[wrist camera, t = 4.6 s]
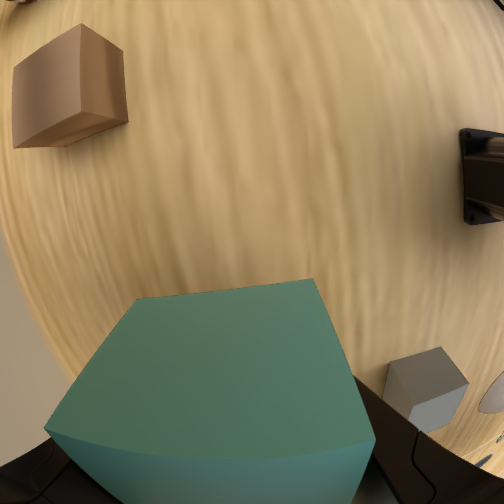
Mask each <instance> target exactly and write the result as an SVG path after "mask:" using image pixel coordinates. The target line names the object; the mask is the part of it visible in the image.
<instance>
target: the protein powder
mask: <svg viewBox="0 0 504 504" xmlns="http://www.w3.org/2000/svg"><path fill="white" fill-rule="evenodd" d="M494 2H495V3H496V4H497V5H498V6H499V7H500V8H501V9H502V10H503V11H504V0H494Z"/></svg>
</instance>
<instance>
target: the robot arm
mask: <svg viewBox="0 0 504 504" xmlns="http://www.w3.org/2000/svg"><path fill="white" fill-rule="evenodd" d="M466 133H467V135H468V138H467V136H466ZM460 137H461V146H462V157H463V172H464V221H465V223H466V224H468V225H478V224H485V223H492V222H499V221H504V134H502V133H497V132H491V131H485V130H478V129H471V128H464V129H462V130H461V132H460ZM470 216H471V219H470ZM352 375H353V374H352ZM353 377H354V380H355V382H356V385H357V388H358V390H359V393H360V396H361V399H362V401H363V404H364V407H365V409H366V412H367V415H368V418H369V421H370V423H371V426H372V429H373V432H374V435H375V438H376V441H375V444H374V447H373V450H372V453H371V456H370V458H369V461H368V464H367V466H366V469H365V472H364V474H363V477H362V479H361V481H360V484H359V486H358V488H357V491H356V493H355V495H354V497H353V500H352V502H351V504H504V479H503V478H500V477H497V476H495V475H493V474H491V473H489V472H487V471H485V470H483V469H481V468H479V467H477V466H475V465H473V464H471V463H469V462H468V461H466V460H464V459H462V458H460V457H459V456H457V455H455V454H454V453H452V452H450V451H449V450H447V449H446V448H444V447H443V446H441V445H440V444H438V443H437V442H436V441H434V440H433V439H432V438H430V437H429V436H428V435H426V434H425V433H424V432H423V431H421V430H420V431H419V428H417V427H416V426H415V425H414V424H412V423H411V422H410V421H409V420H407V419H406V418H405V417H404V416H402V415H401V414H400V413H399V412H397V411H396V410H395V409H394V408H393V407H391V406H390V405H389V404H388V403H386V402H385V401H384V400H383V399H382V398H380V397H379V396H378V395H377V394H376V393H374V392H373V391H372V390H371V389H369V388H368V387H367V386H366V385H365V384H363V383H362V382H361V381H360V380H359V379H358V378H356V377H355V376H354V375H353ZM0 504H124V503H122V502H121V501H120V500H118V499H117V498H116V497H114V496H113V495H112V494H111V493H109V492H108V491H107V490H106V489H104V488H103V487H102V486H101V485H100V484H99V483H97V482H96V481H95V480H94V479H93V478H92V477H90V476H89V475H88V474H87V473H86V472H85V471H84V470H83V469H82V468H81V467H80V466H79V465H78V464H77V463H75V462H74V461H73V460H72V459H71V458H70V457H69V456H68V454H67V453H66V452H65V451H64V450H63V449H62V448H61V447H60V446H59V445H58V444H57V443H56V442H55V441H54V439H53V438H52V437H50V438H49V439H48V440H46V441H45V442H43V443H42V444H40V445H39V446H37V447H36V448H34V449H32V450H31V451H29V452H27V453H25V454H24V455H22V456H20V457H18V458H16V459H14V460H12V461H11V462H9V463H7V464H5V465H3V466H1V467H0Z"/></svg>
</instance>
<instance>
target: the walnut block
mask: <svg viewBox="0 0 504 504" xmlns="http://www.w3.org/2000/svg"><path fill="white" fill-rule="evenodd" d="M127 122H129V121H128V112H127V102H126V92H125V79H124V63H123V51H122V50H121V49H119V48H118V47H116V46H115V45H114V44H112V43H111V42H109V41H108V40H106V39H105V38H103V37H102V36H100V35H99V34H97V33H96V32H94V31H93V30H91V29H90V28H88V27H87V26H85V25H83V24H82V23H81V24H79V25H77V26H75V27H74V28H72V29H70V30H68V31H67V32H65V33H63V34H62V35H60V36H58V37H57V38H55V39H53V40H52V41H50V42H49V43H47V44H46V45H44V46H43V47H41V48H40V49H38V50H37V51H35V52H34V53H33V54H31V55H30V56H28V57H27V58H26V59H24V60H23V61H22V62H20V63H19V64H18V65H17V66H15V67H14V72H13V85H12V137H13V149H14V148H30V147H63V146H67V145H70V144H72V143H74V142H77V141H79V140H81V139H84V138H86V137H89V136H91V135H94V134H96V133H99V132H102V131H104V130H107V129H110V128H112V127H115V126H118V125H121V124H124V123H127Z"/></svg>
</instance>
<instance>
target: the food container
mask: <svg viewBox="0 0 504 504" xmlns="http://www.w3.org/2000/svg"><path fill="white" fill-rule="evenodd" d="M7 1H11V2H15V3H19V4H28V3H31V2H33V1H35V0H7Z"/></svg>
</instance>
